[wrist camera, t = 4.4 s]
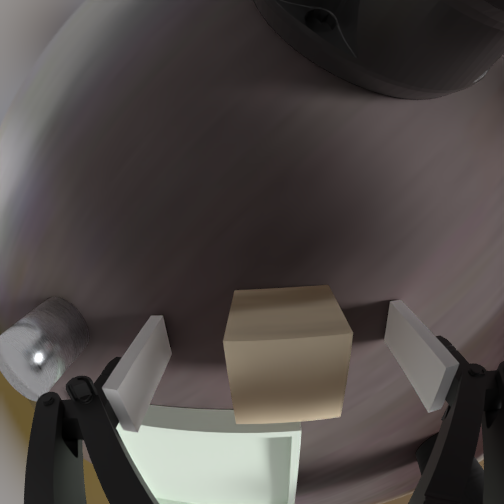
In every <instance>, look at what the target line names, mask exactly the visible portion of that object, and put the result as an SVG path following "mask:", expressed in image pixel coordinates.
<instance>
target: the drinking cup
mask: <svg viewBox="0 0 504 504" xmlns="http://www.w3.org/2000/svg"><path fill="white" fill-rule="evenodd" d="M438 434H439V433H438ZM438 434H436V435H434V436H432V437H431V438H430V439H428V440H427V441H426V442H424V443H423V444H422V445H421V446H420V447H419V449H418V450H417V452H416V457H417V461H418V464H419V468H420V472H421V475H422V474H423V472H424V470H425V467H426V465H427V463H428V460H429V458H430V455H431V453H432V450H433V447H434V445H435V442H436V439H437V437H438ZM483 493H484V470H483V468H482V467H481V466H480V464H479V463H478V461H477V460H476V459H475V457H474V459H473V463H472V466H471V470H470V473H469V477H468V480H467V483H466V486H465V489H464V492H463V495H462V498H461V501H460V503H461V504H483Z"/></svg>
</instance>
